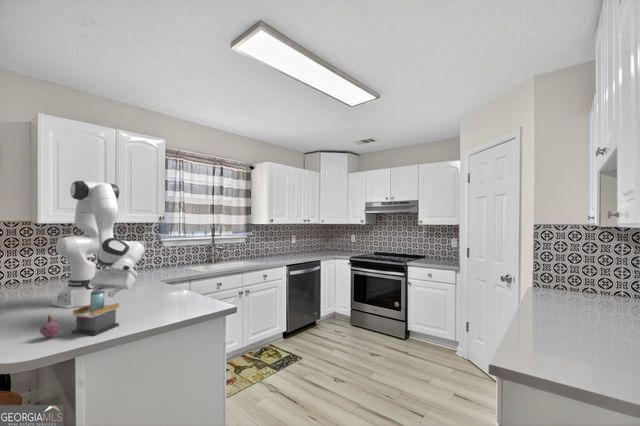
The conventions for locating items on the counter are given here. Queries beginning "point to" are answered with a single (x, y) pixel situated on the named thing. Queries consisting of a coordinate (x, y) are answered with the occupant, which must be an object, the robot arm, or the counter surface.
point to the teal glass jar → (96, 300)
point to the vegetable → (49, 328)
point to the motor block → (95, 320)
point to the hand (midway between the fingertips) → (101, 295)
